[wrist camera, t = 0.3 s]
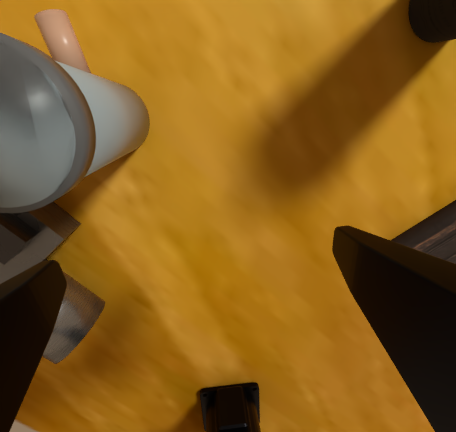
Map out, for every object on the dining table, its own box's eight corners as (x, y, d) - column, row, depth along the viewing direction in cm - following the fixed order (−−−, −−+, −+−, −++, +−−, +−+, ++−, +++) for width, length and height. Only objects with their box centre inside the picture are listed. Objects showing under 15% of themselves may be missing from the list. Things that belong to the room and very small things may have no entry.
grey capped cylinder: (162, 145, 21) (110, 188, 9) (95, 164, 21) (-43, 232, 9) (120, 24, 18) (-38, -147, 6) (42, 47, 19) (-260, -80, 6)
